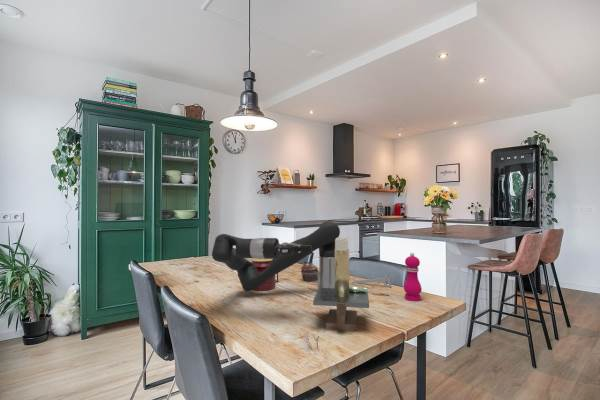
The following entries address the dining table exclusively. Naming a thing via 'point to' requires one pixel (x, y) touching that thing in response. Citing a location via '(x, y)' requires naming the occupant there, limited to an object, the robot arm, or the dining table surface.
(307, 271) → the cupcake
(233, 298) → the dining table surface
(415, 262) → the pepper mill
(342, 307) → the stand
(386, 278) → the caliper
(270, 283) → the canister
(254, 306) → the dining table surface
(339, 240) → the brushed metal stamp
